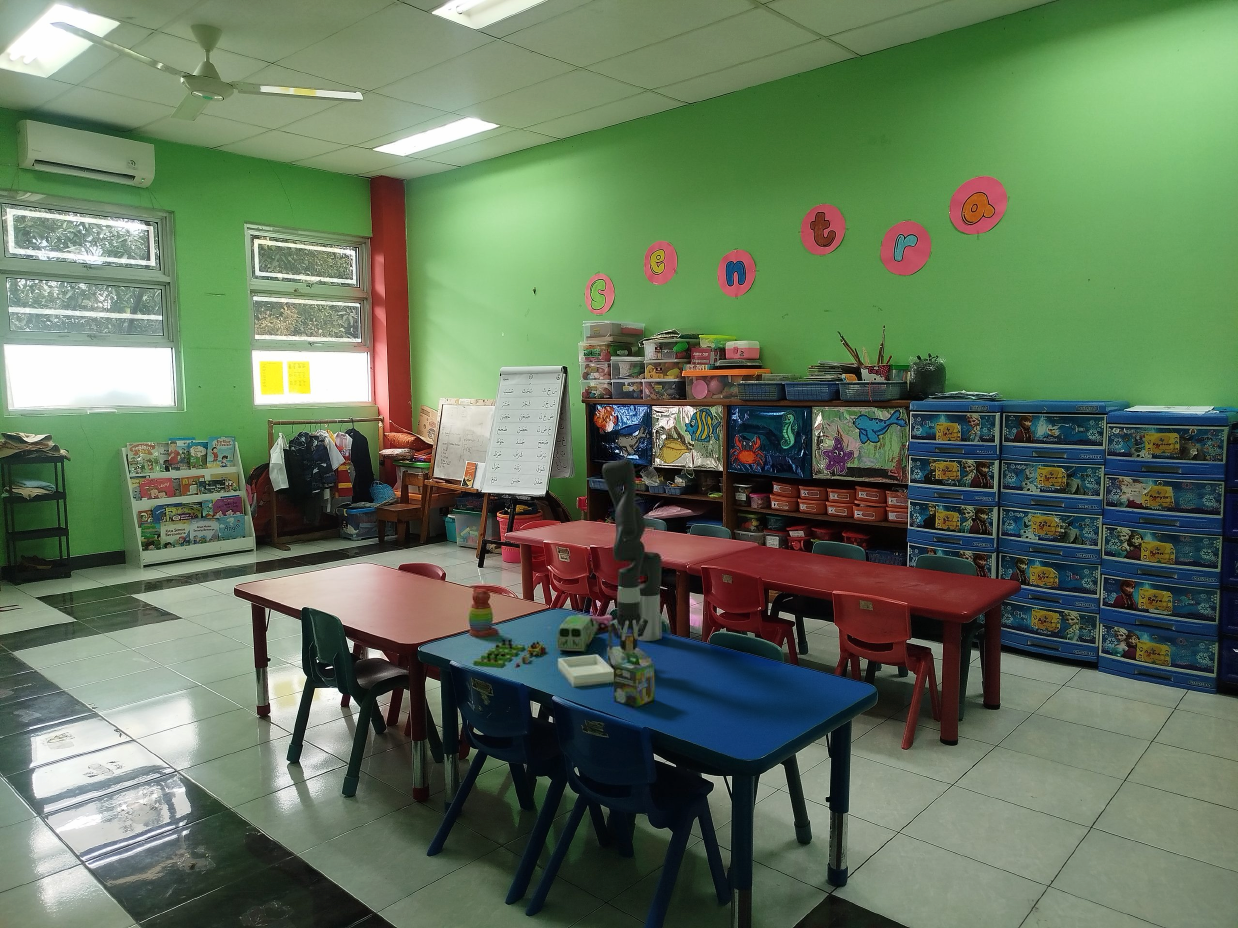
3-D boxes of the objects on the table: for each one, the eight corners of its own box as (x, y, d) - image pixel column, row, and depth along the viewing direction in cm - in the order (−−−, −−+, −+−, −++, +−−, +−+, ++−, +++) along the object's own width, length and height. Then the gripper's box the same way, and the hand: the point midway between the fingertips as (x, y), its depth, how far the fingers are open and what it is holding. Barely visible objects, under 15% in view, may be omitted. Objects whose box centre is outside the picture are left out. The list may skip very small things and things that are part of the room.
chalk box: (655, 699, 252) (655, 651, 251) (636, 708, 245) (636, 659, 244) (631, 692, 258) (631, 646, 257) (612, 701, 251) (612, 653, 250)
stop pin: (631, 668, 281) (631, 633, 281) (634, 671, 279) (634, 636, 278) (622, 669, 280) (622, 634, 280) (625, 672, 278) (625, 637, 277)
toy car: (597, 636, 321) (597, 610, 320) (584, 655, 297) (584, 627, 296) (570, 635, 323) (570, 609, 322) (555, 653, 298) (555, 626, 298)
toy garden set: (498, 647, 307) (498, 635, 307) (547, 651, 303) (547, 639, 302) (473, 666, 285) (473, 653, 285) (525, 671, 280) (525, 657, 280)
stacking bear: (500, 632, 326) (500, 587, 324) (483, 638, 317) (482, 592, 316) (480, 628, 331) (479, 584, 330) (462, 634, 323) (461, 589, 321)
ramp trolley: (634, 661, 289) (634, 625, 288) (651, 676, 274) (651, 637, 273) (607, 664, 285) (607, 627, 284) (622, 679, 270) (622, 640, 269)
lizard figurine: (564, 631, 330) (564, 612, 330) (603, 622, 343) (602, 604, 343) (586, 638, 319) (586, 620, 319) (626, 629, 332) (626, 611, 332)
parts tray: (597, 664, 286) (597, 654, 286) (615, 681, 268) (615, 671, 268) (558, 668, 281) (558, 658, 281) (573, 686, 263) (573, 675, 263)
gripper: (644, 595, 284) (644, 644, 285) (605, 598, 279) (605, 648, 280) (652, 600, 276) (652, 650, 278) (612, 603, 272) (612, 655, 273)
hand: (628, 649), depth 279 cm, fingers closed on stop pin, 3 cm apart
